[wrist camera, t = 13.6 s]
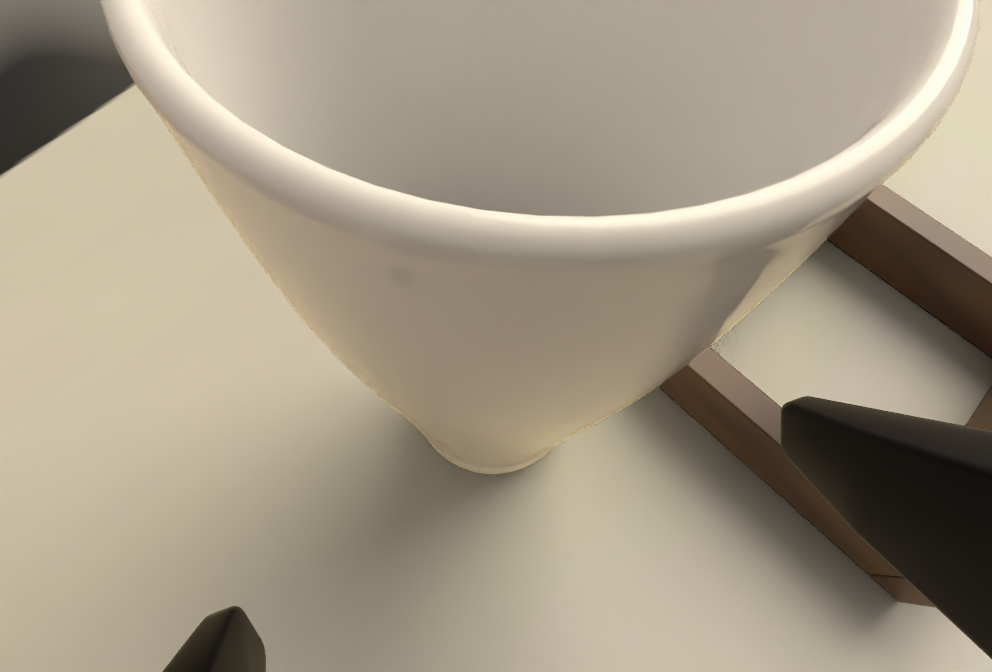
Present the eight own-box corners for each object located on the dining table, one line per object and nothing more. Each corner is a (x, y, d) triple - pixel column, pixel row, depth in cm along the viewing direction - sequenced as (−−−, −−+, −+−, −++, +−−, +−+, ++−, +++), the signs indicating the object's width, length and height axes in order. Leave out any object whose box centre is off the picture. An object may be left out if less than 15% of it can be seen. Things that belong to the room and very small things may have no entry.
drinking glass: (363, 457, 17) (-191, 54, 3) (439, 288, 19) (338, -361, 5) (555, 530, 16) (1041, 464, 2) (609, 346, 19) (995, -228, 5)
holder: (1043, 367, 19) (1123, 343, 17) (899, 602, 16) (972, 613, 13) (791, 189, 22) (829, 148, 19) (625, 358, 18) (647, 331, 16)
